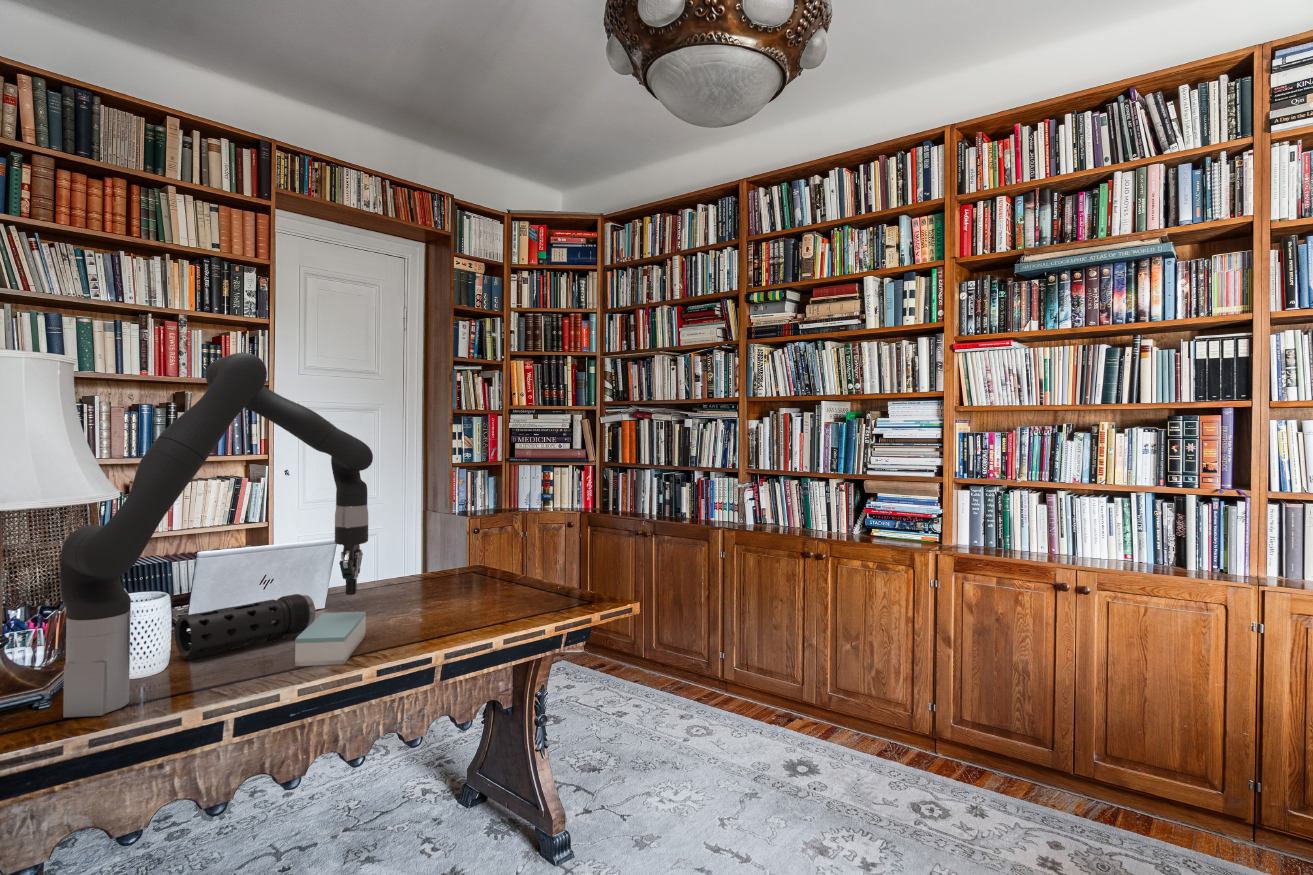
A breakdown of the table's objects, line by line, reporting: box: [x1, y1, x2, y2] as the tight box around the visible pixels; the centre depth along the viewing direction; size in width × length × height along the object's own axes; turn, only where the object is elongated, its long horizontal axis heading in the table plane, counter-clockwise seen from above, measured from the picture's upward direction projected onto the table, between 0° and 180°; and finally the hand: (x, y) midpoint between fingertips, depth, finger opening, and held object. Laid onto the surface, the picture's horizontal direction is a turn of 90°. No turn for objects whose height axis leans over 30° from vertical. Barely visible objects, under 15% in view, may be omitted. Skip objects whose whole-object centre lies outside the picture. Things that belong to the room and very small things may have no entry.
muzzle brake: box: [174, 593, 316, 661], centre depth 166 cm, size 10×28×10 cm, turn 145°
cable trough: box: [294, 616, 367, 667], centre depth 164 cm, size 22×10×5 cm, turn 11°
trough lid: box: [294, 611, 367, 644], centre depth 164 cm, size 22×10×1 cm, turn 11°
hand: (351, 594), depth 171 cm, fingers closed
